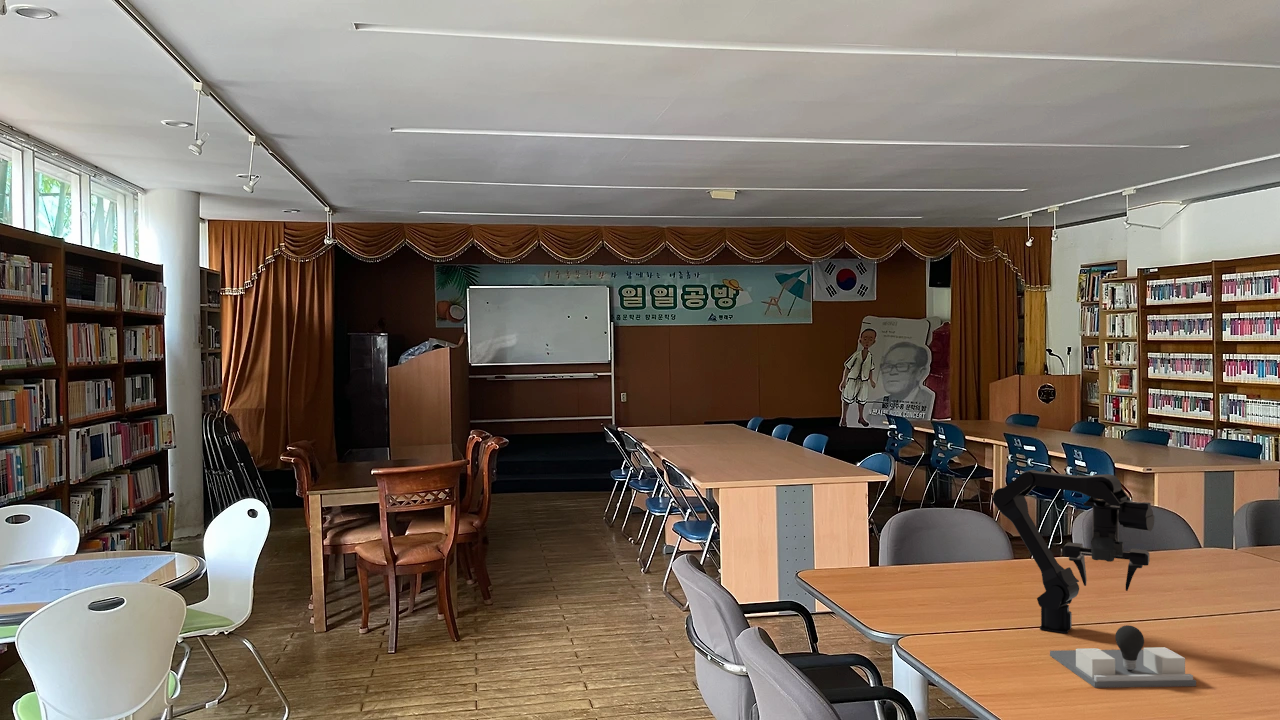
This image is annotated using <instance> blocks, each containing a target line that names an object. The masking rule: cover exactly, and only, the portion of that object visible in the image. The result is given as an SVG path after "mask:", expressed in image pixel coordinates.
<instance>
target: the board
mask: <svg viewBox="0 0 1280 720" xmlns="http://www.w3.org/2000/svg"><path fill="white" fill-rule="evenodd" d="M1049 656H1050V657H1051V658H1052V659H1054V660H1055V661H1057V662H1059V664H1061V665H1062V666H1064V667H1065V668H1066V669H1067V670H1069V671H1071V673H1074V674H1075V675H1077V676H1078V677H1079V678H1081V679H1082V680H1083V681H1085V682H1086V683H1088V684H1089V685H1090V684H1091V685H1090V686H1092V687H1093V688H1095V689H1097V688H1099V689H1100V688H1150V687H1151V688H1152V687H1153V688H1154V687H1155V688H1158V687H1159V688H1161V687H1162V688H1163V687H1164V688H1165V687H1166V688H1167V687H1197V680H1196V679H1194V675H1193V674H1191V673H1186V658H1185V657H1184V656H1182V655H1180V654H1178V652H1174V651H1173V650H1170V648H1167V647H1164V646H1163V647H1142V649H1141V650H1140V652H1139V654H1138V657H1137V660H1136V669H1134V670H1132V671H1127V669H1126V668H1124V664H1123V657H1122V653H1121V650H1120V649H1099V648H1098V647H1097V648H1094V647H1092V648H1090V647H1089V648H1075V650H1073V649H1071V650H1068V649H1067V650H1065V649H1062V650H1059V649H1058V650H1049Z"/></svg>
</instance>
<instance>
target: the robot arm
mask: <svg viewBox="0 0 1280 720" xmlns="http://www.w3.org/2000/svg"><path fill="white" fill-rule="evenodd" d="M1035 487H1037V488H1039V487H1040V488H1047V489H1053V490H1054V489H1055V490H1060V491H1061V490H1062V491H1069V492H1070V491H1071V492H1077V493H1079V494H1082V495H1084V496H1087V497H1089V498H1088V499H1087V501H1085V502H1083V503H1082V505H1083V506H1084V507H1091V508H1092V539H1091V543H1090V547H1084V544H1083V543H1080V542H1079V543H1077V542H1070V541H1069V542H1067V543H1066V544H1065V545H1064V546H1063V548H1062V556H1063V557H1064V558H1068V560H1069V561H1072V562H1073V563H1074V564H1075V566H1076V568H1077V570H1078V573H1079V576H1080V578H1081V580H1082V584H1083V586H1085V587H1086V586H1087V581H1088V580H1087V569H1086V561H1085V556H1090V557H1091V559H1092V560H1094V561H1105V562H1111V563H1112V562H1114V560H1115V559H1117V560H1128V561H1129V562H1128V565H1127V574H1126V580H1125V591H1126V592H1128V591H1129V588H1130V585H1131V582H1132V579H1133V577H1134V575H1135V573H1136V571H1137V570H1138V569H1143V566H1149V563H1150V552H1149V551H1148V549H1138V548H1131V549H1130V551H1125V550H1124V542H1123V541H1120V540H1119V532H1120V531H1119V526H1122V528H1124V529H1129V530H1136V531H1137V530H1138V531H1145V532H1151V531H1152V530H1153V529H1154V525H1155V515H1154V512H1153V509H1152V506H1151V505H1152V504H1151V502H1147V501H1146V502H1145V501H1144V502H1139V501H1132V500H1131V499H1130V497H1129V495H1128V494H1127V493H1126V491H1125V490H1124V489H1123V487H1122V484H1121V481H1120V479H1118V477H1117V476H1116V475H1114V474H1109V473H1108V474H1107V473H1106V474H1091V475H1074V474H1067V473H1066V474H1065V473H1057V472H1050V471H1048V472H1047V471H1040V470H1036V469H1030V470H1025V471H1023V472H1022V473H1021V474H1020V475H1019V476H1018V477H1016V478H1015V479H1013V480H1012V481H1010V482H1009V483H1008V484H1007V485H1005V486H1004V487H1000V488H997V489H996V490H995V491H994V492H993V494H992V499H991V500H992V502H993V504H994V506H995V507H996V509H998V511H999V512H1000V513H1001V514H1002V515H1003V516H1004V517H1005V518H1007V519H1008V520H1009V521H1010V522H1011V523H1012V524H1013V526H1014V527H1015V529H1016V531H1017V533H1018V534H1019V537H1020V538H1021V539H1022V541H1023V543H1024V545H1025V546H1026V548H1027V550H1028V551H1029V553H1030V555H1031V557H1032V558H1033V561H1034V562H1035V563H1036V565H1037V568H1039V571H1040V572H1041V579H1042V586H1043V587H1044V590H1045V591H1044V592H1043V593H1042V594H1041V595H1039V596H1038V597H1037V598H1036V599H1037V600H1036V601H1037V603H1038V606H1039V607H1040V622H1041V623H1040V627H1039V630H1042V631H1048V632H1054V633H1059V634H1068V633H1069V631H1070V630H1071V629H1072V625H1073V623H1072V618H1073V617H1072V615H1073V614H1072V613H1073V612H1072V611H1070V604H1072V600H1073V599H1075V598H1077V596H1078V595H1079V592H1080V585H1079V584H1078V583H1079V582H1080V581H1079V579H1078V578H1076V576H1075V575H1074V572H1073V570H1072V568H1071V567H1070V566H1069V567H1066V568H1064V567H1063V566H1061V565H1060V564H1059V563H1058V561H1057V559H1056V558H1055V556H1054V555H1053V554H1054V553H1053V552H1052V551H1051V550H1050V548H1049V546H1048V544H1047V543H1046V541H1045V539H1044V538H1043V536H1042V534H1041V533H1040V531H1039V529H1038V528H1037V526H1036V524H1035V522H1034V521H1033V519H1032V518H1031V516H1030V514H1029V507H1028V506H1029V505H1028V501H1027V499H1026V496H1028V495H1029V493H1030V492H1031V491H1032V490H1033V489H1034V488H1035Z"/></svg>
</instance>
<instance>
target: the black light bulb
mask: <svg viewBox="0 0 1280 720" xmlns="http://www.w3.org/2000/svg"><path fill="white" fill-rule="evenodd" d="M1115 643H1116V645H1117V646H1118V648H1119V650H1121V653H1122V657H1123V664H1124V668H1126V669H1127V671H1132V670H1134V669H1136V660H1137V657H1138V654H1139V652H1140V650H1141V649H1142V650H1143V648H1144V645H1145V636H1144V635H1143V633H1142V631H1141V630H1140V629H1139V628H1137V627H1135V626H1134V625H1130V624H1129V625H1128V624H1127V625H1122V626H1120V627H1119V628H1118V629H1117V630H1116V631H1115Z"/></svg>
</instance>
